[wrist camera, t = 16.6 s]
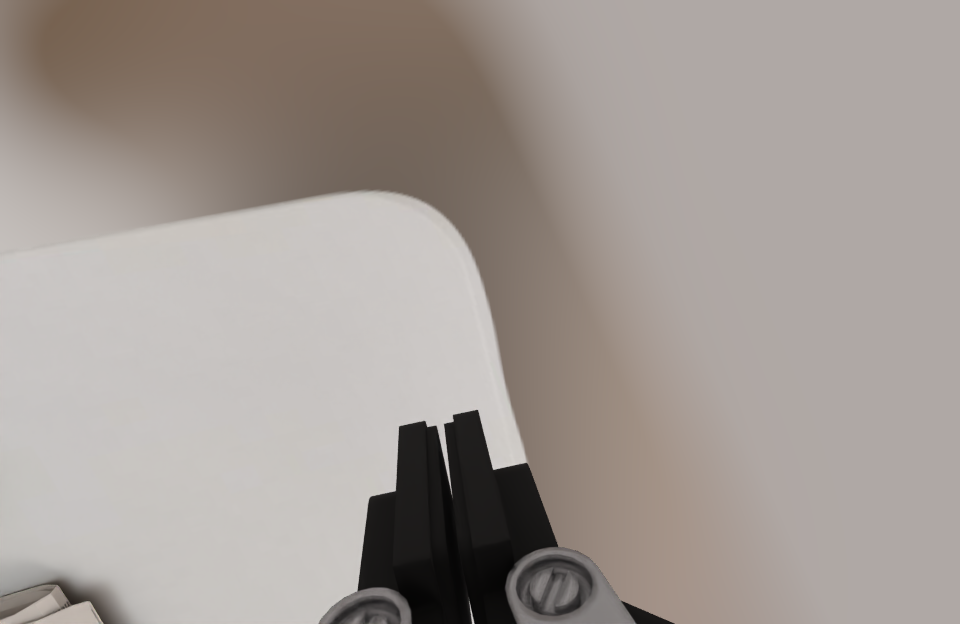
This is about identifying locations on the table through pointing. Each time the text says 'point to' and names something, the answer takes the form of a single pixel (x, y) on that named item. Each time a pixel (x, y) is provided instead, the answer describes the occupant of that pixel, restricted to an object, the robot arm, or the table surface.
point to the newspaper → (45, 608)
